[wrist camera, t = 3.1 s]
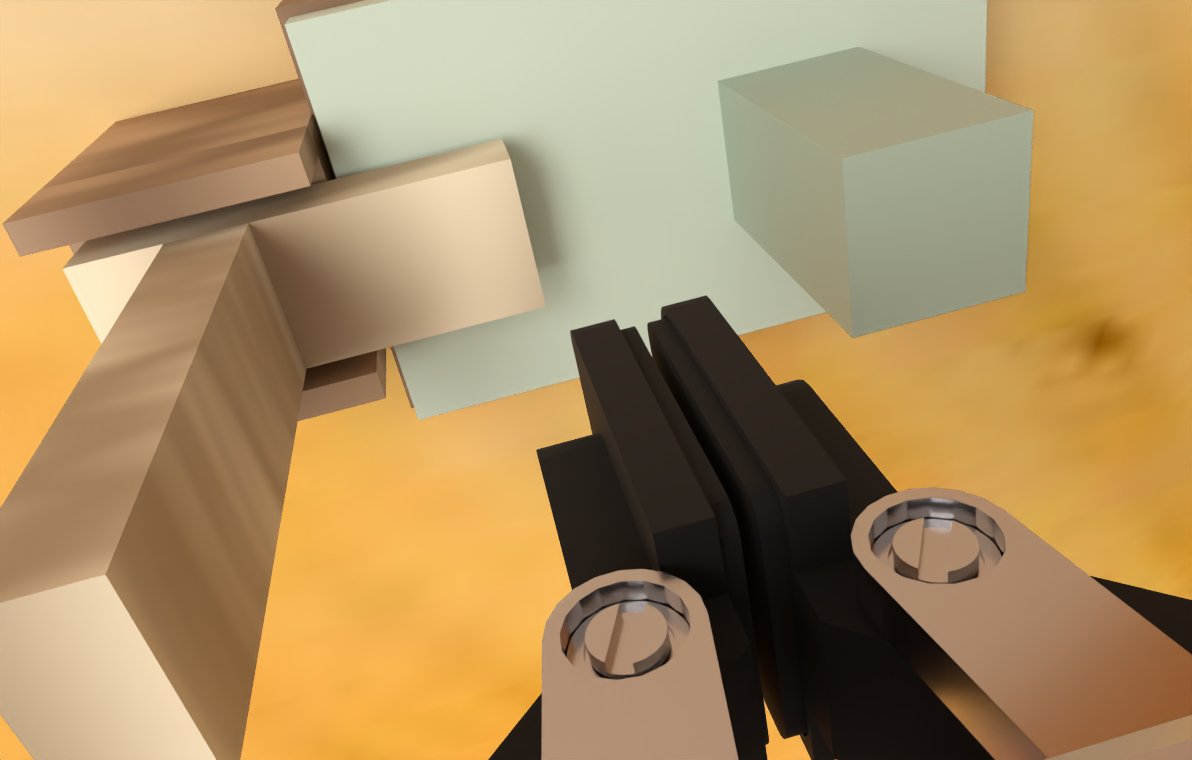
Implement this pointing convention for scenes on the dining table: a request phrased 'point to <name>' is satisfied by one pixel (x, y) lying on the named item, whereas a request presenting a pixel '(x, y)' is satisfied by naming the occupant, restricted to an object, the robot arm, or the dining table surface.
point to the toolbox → (202, 189)
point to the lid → (691, 160)
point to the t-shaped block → (217, 438)
